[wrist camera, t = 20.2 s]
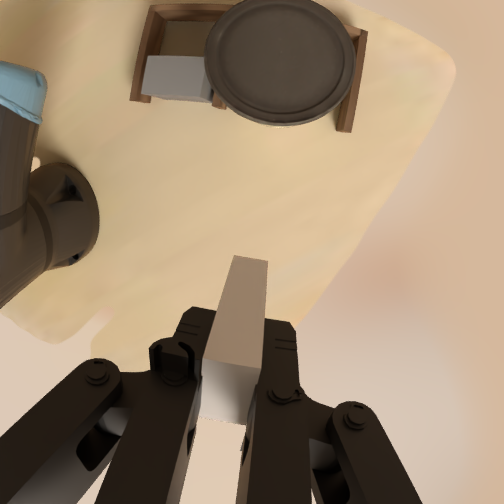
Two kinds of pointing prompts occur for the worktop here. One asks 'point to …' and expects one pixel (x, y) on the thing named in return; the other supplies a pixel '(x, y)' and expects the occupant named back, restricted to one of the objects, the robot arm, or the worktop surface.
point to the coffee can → (280, 61)
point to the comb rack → (212, 13)
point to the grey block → (177, 79)
